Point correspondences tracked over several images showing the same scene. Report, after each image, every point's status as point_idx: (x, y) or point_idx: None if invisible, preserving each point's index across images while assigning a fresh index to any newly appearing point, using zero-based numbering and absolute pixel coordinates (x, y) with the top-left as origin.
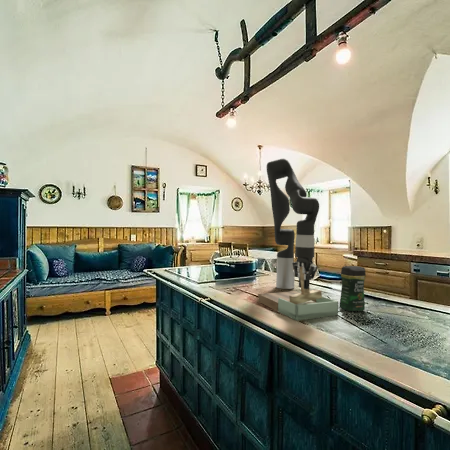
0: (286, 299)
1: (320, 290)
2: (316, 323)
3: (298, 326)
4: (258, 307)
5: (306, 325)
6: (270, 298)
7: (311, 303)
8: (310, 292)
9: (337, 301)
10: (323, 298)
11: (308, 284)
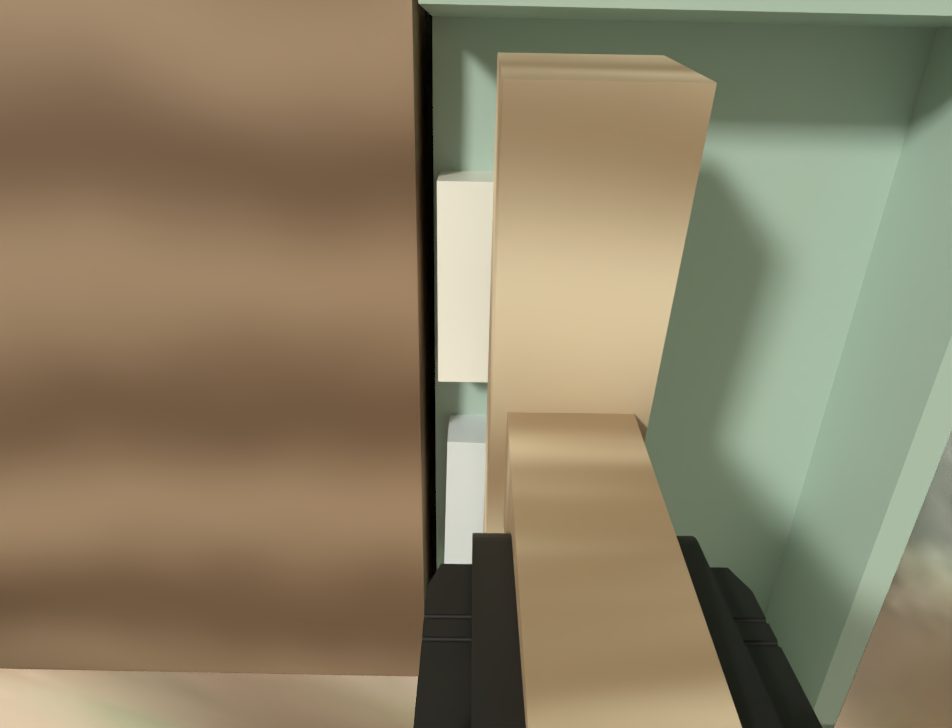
0: (298, 512)
1: (678, 84)
2: (931, 492)
3: (877, 661)
4: (248, 675)
5: (904, 598)
6: (206, 653)
7: (873, 547)
8: (608, 376)
9: None
10: (674, 12)
11: (767, 659)
